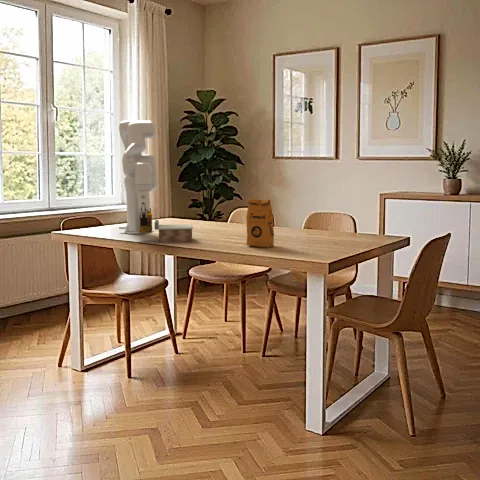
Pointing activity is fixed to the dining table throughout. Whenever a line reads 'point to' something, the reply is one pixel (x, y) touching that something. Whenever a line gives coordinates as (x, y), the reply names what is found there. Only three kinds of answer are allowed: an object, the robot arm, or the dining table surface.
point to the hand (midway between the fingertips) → (144, 224)
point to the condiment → (149, 227)
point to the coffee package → (260, 224)
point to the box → (175, 235)
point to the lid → (171, 226)
